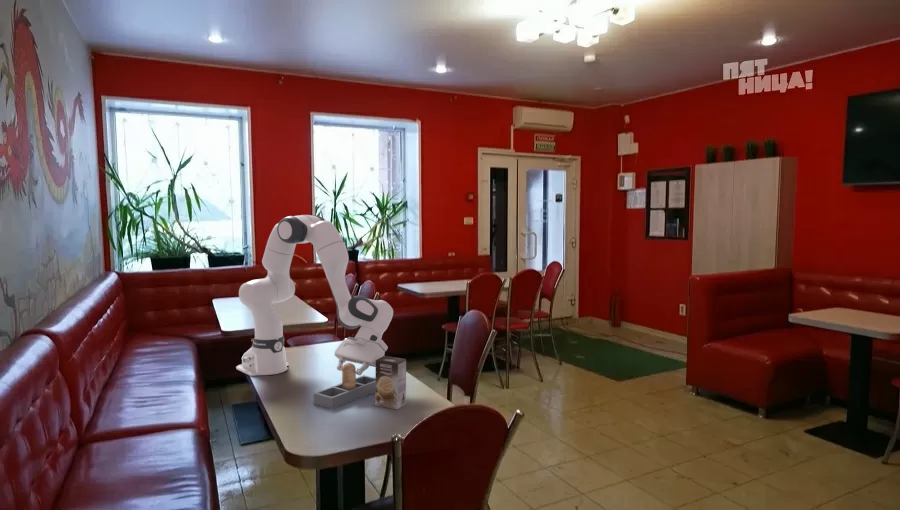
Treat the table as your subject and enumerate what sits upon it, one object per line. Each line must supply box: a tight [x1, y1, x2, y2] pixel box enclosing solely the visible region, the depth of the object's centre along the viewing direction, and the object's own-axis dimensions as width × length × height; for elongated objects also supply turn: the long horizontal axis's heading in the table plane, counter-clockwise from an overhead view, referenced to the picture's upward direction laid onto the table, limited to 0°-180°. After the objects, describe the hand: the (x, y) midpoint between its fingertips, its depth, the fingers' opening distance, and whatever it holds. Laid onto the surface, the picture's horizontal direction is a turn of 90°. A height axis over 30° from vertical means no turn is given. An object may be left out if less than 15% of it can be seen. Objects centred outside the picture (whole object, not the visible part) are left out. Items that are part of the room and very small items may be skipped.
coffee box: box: [375, 355, 407, 410], centre depth 184 cm, size 9×6×16 cm
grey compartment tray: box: [313, 375, 376, 410], centre depth 193 cm, size 9×25×4 cm, turn 146°
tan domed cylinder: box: [341, 362, 357, 390], centre depth 193 cm, size 5×5×11 cm
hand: (348, 372), depth 192 cm, fingers open, 8 cm apart
